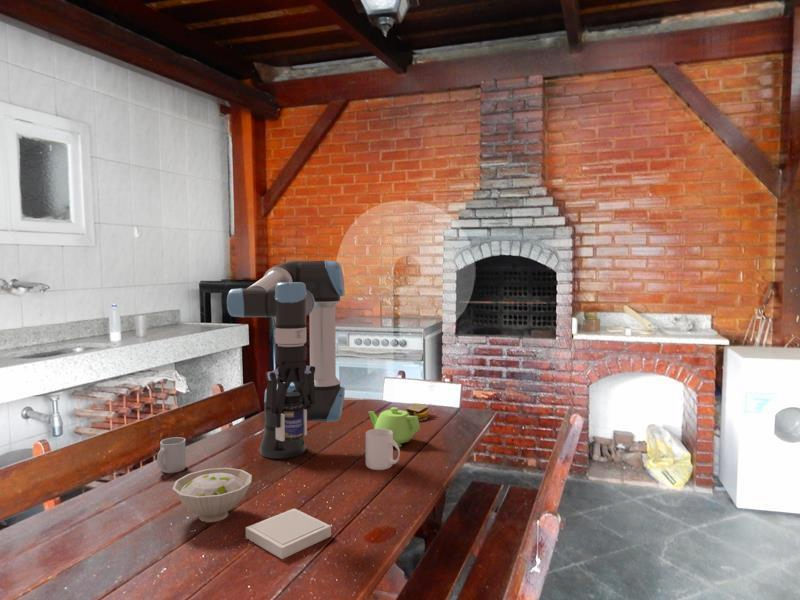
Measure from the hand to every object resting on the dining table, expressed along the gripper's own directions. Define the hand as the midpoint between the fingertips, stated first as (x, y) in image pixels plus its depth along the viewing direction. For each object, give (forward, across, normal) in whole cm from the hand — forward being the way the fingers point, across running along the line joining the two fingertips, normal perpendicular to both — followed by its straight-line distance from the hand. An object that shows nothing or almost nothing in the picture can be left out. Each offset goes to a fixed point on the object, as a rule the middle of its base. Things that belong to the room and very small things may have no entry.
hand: (291, 436), depth 140 cm
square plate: (+21, -6, -7) cm, 23 cm away
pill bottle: (+1, 0, 0) cm, 1 cm away
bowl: (+21, -12, +16) cm, 29 cm away
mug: (+21, +42, +8) cm, 47 cm away
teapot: (+20, +62, +22) cm, 69 cm away
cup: (+21, -5, +54) cm, 58 cm away
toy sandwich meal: (+20, +91, +38) cm, 101 cm away
